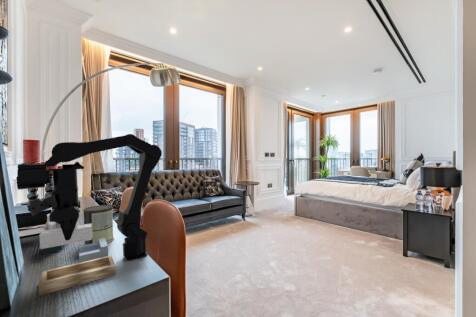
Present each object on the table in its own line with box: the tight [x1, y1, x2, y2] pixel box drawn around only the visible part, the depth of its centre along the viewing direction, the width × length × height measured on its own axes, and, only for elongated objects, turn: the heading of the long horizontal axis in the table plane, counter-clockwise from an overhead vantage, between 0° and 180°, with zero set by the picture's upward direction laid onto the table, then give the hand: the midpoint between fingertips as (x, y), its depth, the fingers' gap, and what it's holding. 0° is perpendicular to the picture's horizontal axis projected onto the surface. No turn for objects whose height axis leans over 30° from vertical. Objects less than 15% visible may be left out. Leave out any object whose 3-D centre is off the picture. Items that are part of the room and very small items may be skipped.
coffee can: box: [82, 204, 114, 245], centre depth 94 cm, size 10×10×14 cm
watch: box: [42, 221, 63, 255], centre depth 86 cm, size 6×8×11 cm
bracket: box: [78, 237, 109, 263], centre depth 79 cm, size 8×10×4 cm
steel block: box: [39, 223, 93, 250], centre depth 68 cm, size 12×4×4 cm, turn 119°
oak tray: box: [38, 254, 117, 297], centre depth 66 cm, size 17×9×3 cm, turn 125°
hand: (68, 237), depth 68 cm, fingers closed on steel block, 4 cm apart
